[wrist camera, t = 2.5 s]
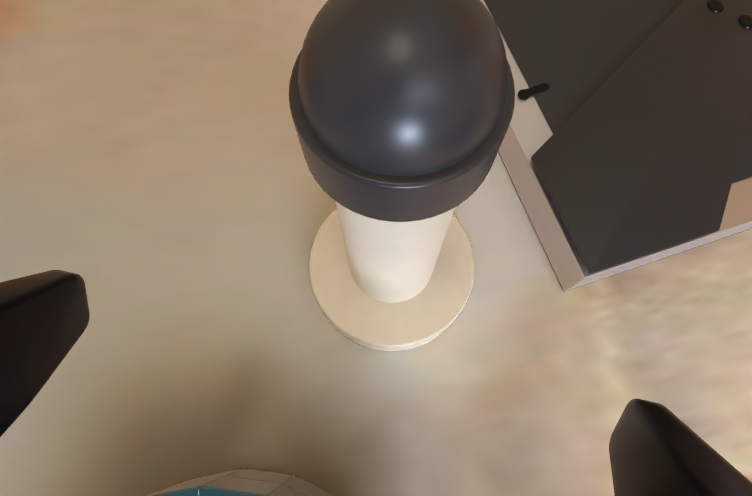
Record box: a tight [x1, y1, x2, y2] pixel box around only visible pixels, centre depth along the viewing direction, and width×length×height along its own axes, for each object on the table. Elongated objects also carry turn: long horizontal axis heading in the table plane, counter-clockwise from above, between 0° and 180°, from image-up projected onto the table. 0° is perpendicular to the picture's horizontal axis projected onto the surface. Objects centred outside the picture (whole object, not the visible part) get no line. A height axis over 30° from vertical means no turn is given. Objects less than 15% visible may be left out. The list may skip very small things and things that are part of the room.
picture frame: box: [480, 0, 752, 291], centre depth 22 cm, size 16×3×21 cm
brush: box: [289, 0, 515, 351], centre depth 13 cm, size 6×6×14 cm
